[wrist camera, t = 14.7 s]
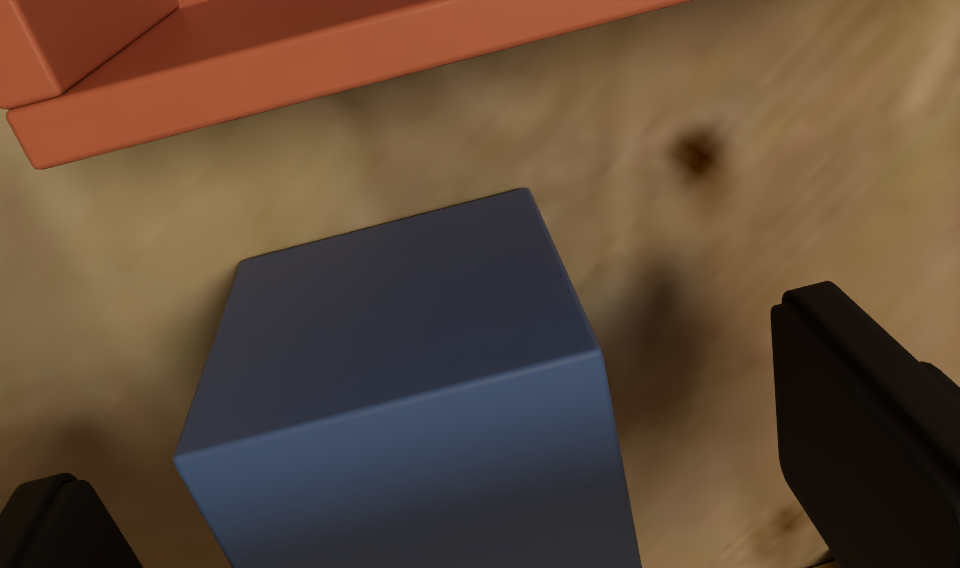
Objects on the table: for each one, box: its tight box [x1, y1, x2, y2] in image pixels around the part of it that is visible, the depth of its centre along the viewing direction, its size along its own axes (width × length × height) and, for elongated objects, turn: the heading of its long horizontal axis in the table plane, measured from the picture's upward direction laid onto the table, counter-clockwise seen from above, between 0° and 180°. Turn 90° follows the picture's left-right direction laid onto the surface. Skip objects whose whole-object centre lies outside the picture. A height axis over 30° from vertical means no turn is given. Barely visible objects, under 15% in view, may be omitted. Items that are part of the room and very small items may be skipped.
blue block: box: [173, 188, 642, 568], centre depth 11 cm, size 4×4×4 cm
